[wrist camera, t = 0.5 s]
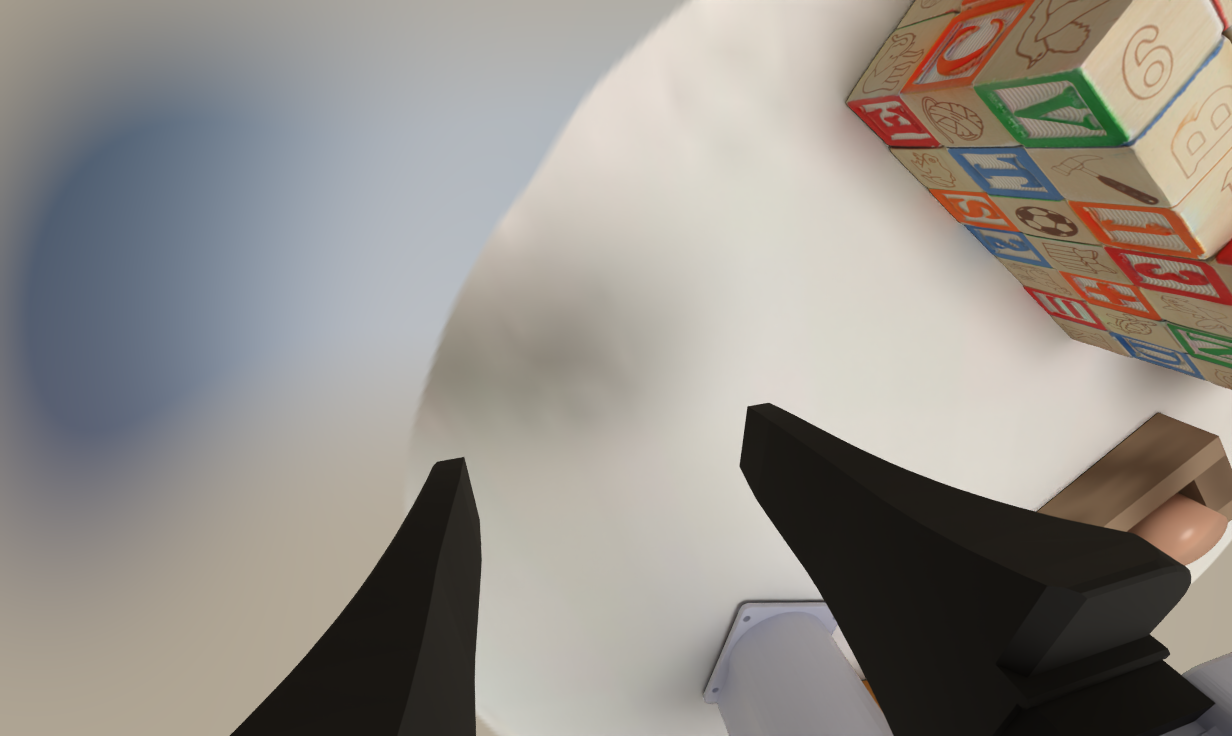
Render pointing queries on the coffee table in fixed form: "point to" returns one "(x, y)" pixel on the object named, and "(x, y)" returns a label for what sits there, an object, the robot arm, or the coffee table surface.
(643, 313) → the coffee table surface
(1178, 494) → the terracotta button
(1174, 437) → the wooden compartment tray
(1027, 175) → the stack of blocks
